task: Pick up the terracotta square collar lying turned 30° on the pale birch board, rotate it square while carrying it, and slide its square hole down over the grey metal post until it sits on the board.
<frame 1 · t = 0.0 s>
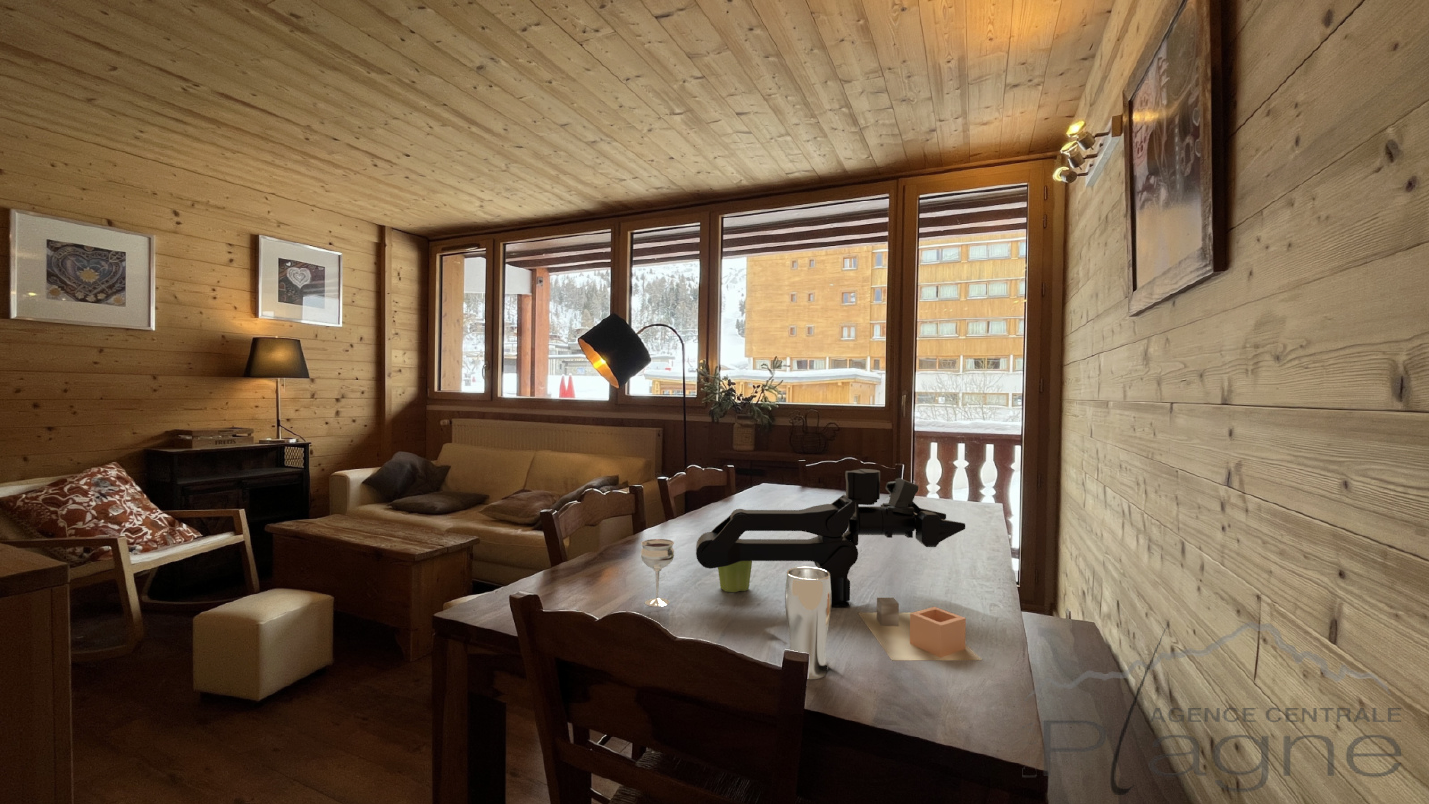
hand: (955, 521, 123), 17 cm above the table, tool horizontal, fingers open, 9 cm apart
plant pot: (734, 589, 130), on the table, touching arm
wineglass: (657, 603, 122), on the table
beer glass: (807, 671, 92), on the table
collar: (937, 646, 98), point 1 cm above the table, touching post board
post board: (914, 642, 103), on the table
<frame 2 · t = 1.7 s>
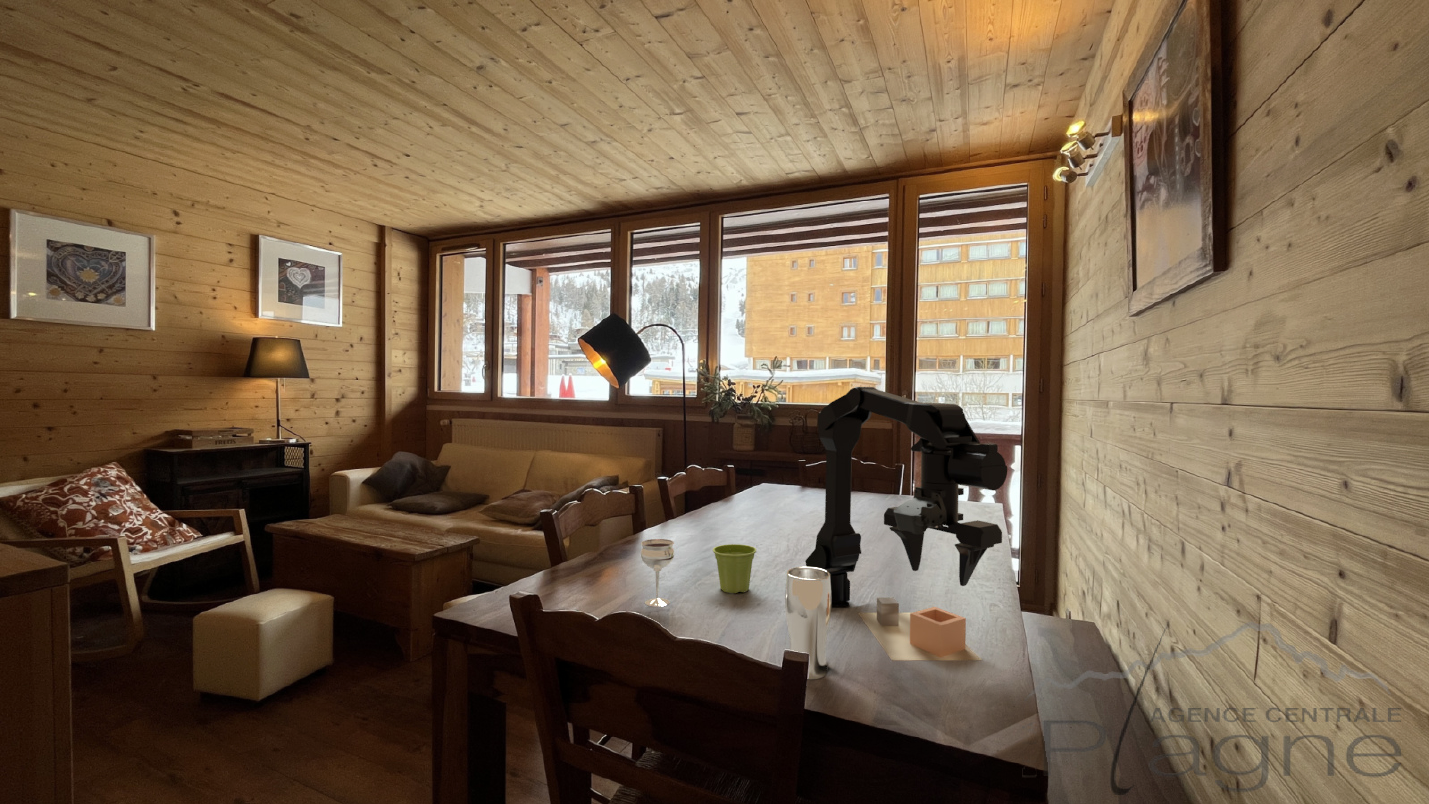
hand: (938, 577, 98), 13 cm above the table, tool pointing down, fingers open, 9 cm apart
plant pot: (734, 590, 130), on the table
everything else where it was.
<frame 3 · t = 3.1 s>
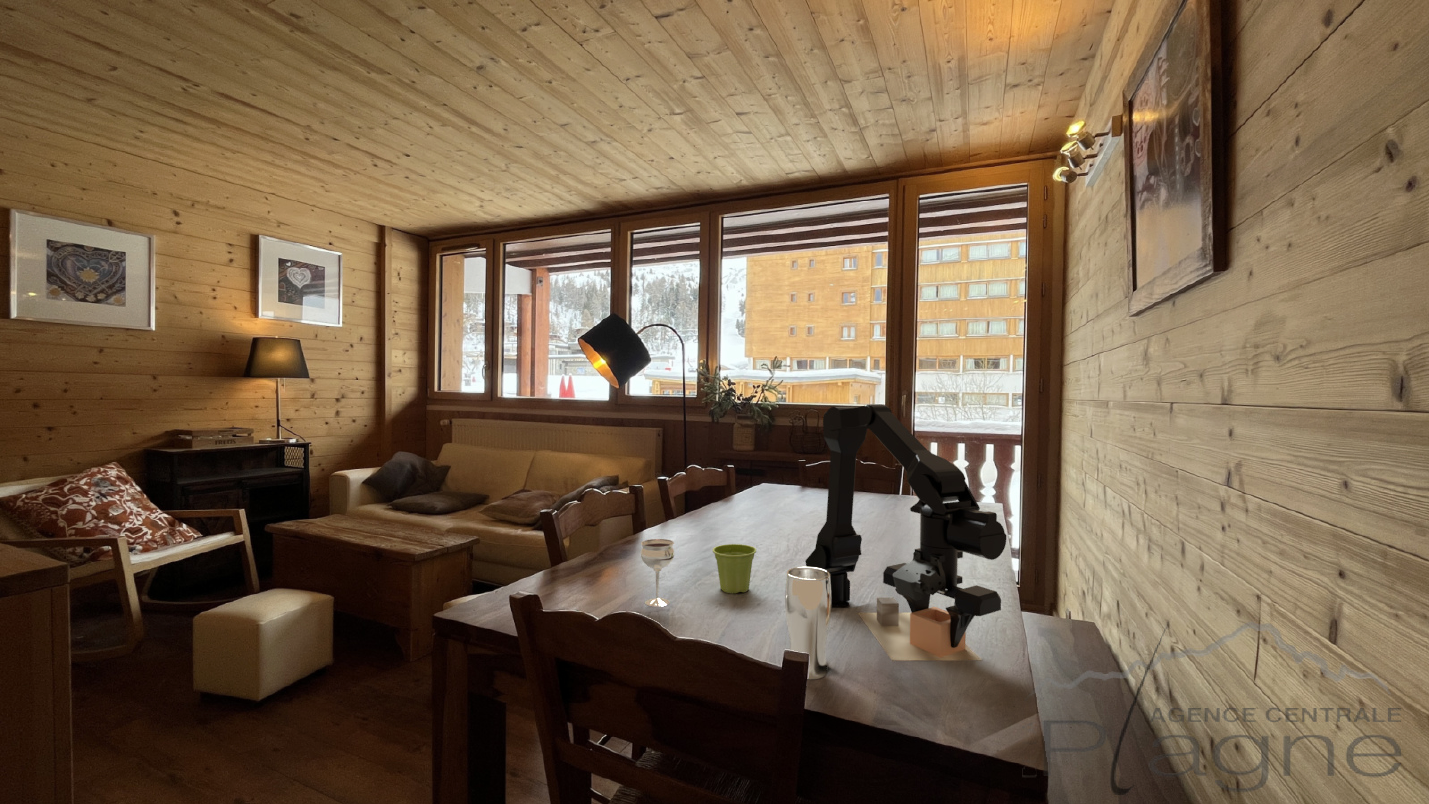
hand: (937, 640, 98), 3 cm above the table, tool pointing down, fingers closed on collar, 6 cm apart
collar: (937, 646, 98), point 2 cm above the table, touching gripper, post board
everything else where it was.
when the fingers open (3 cm above the table, at t = 7.5 s): collar stays where it is, resting on post board.
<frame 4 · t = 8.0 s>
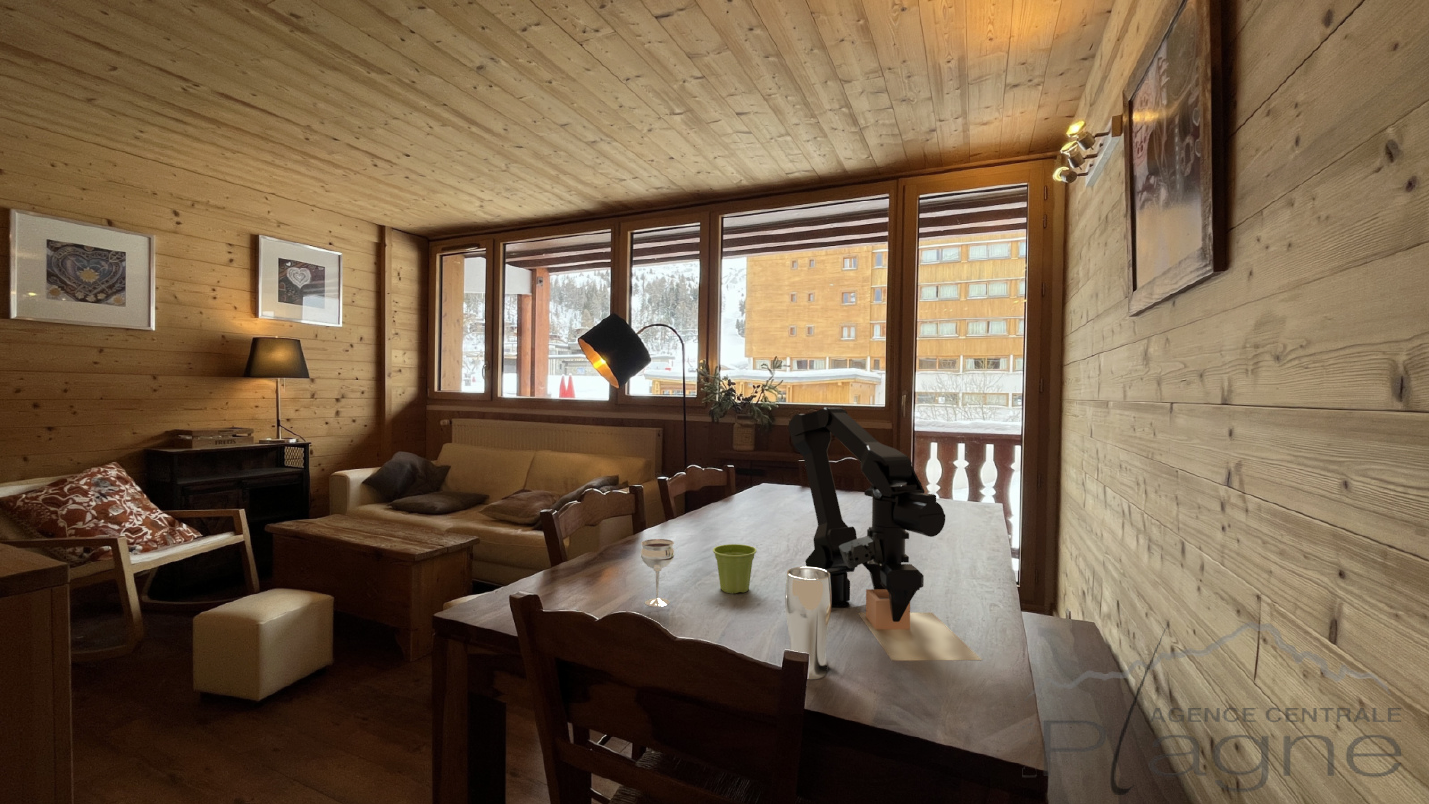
hand: (887, 611, 108), 3 cm above the table, tool pointing down, fingers open, 9 cm apart
collar: (887, 622, 108), point 1 cm above the table, touching post board
everything else where it was.
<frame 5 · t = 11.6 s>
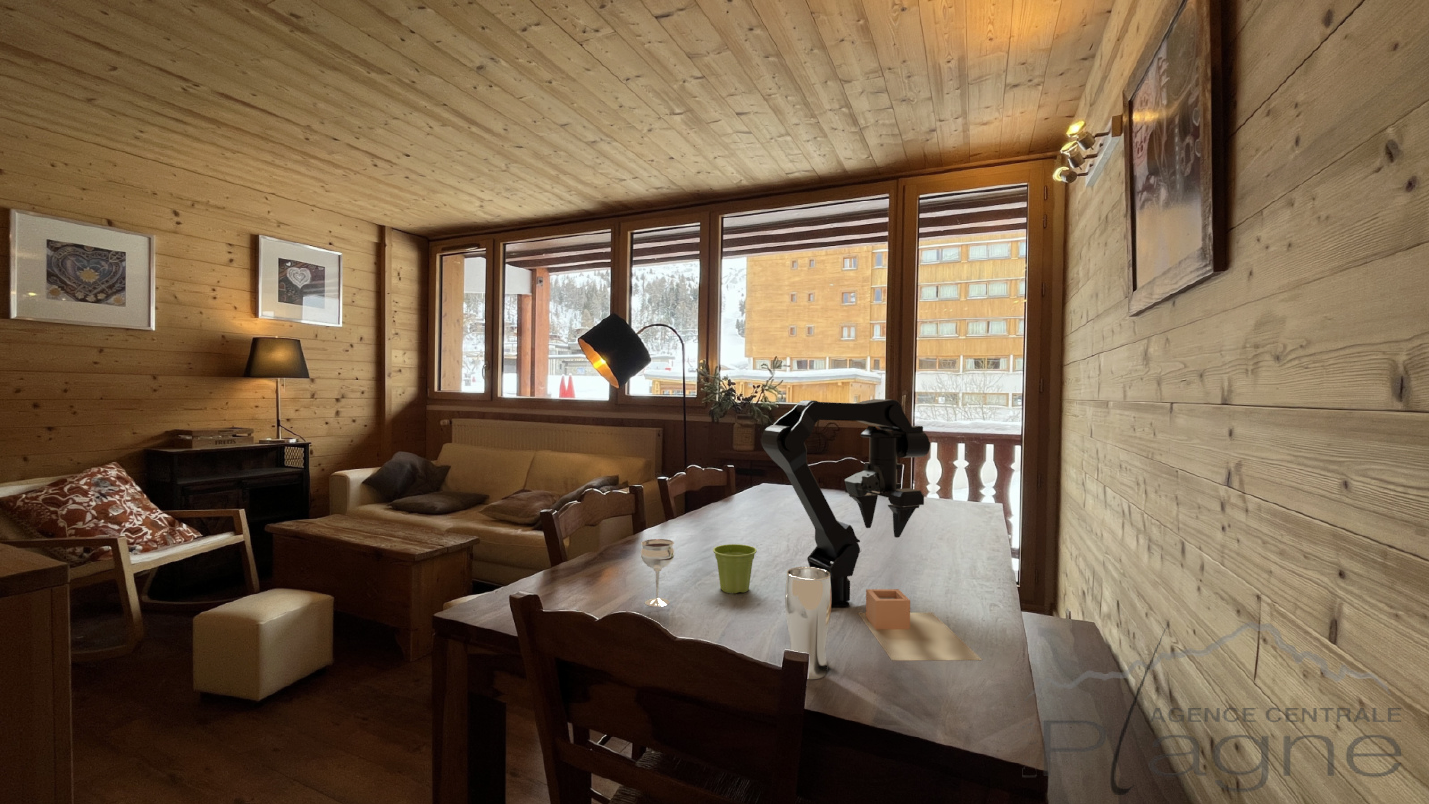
hand: (882, 532, 128), 13 cm above the table, tool pointing down, fingers open, 9 cm apart
nothing on the table moved.
at the end: collar 0.1 cm from the target spot on the post board, point 1.5 cm above the post board's base; collar tilted 0°; the gripper is holding nothing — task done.
